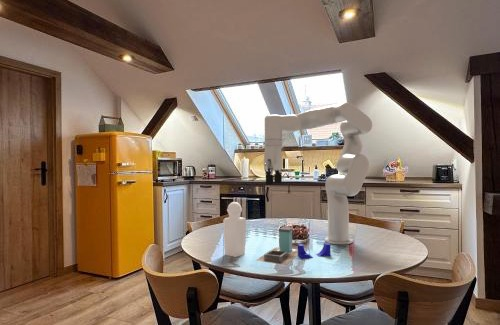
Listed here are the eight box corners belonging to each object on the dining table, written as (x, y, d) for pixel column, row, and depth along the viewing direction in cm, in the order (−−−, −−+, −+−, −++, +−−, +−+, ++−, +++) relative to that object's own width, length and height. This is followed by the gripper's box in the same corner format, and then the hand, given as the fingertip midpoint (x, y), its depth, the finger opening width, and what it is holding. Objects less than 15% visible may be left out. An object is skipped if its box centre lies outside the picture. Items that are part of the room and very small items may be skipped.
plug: (282, 248, 132) (282, 227, 132) (292, 249, 130) (292, 227, 130) (279, 251, 128) (278, 228, 128) (289, 252, 126) (289, 229, 126)
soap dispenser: (234, 254, 130) (233, 200, 130) (246, 257, 126) (246, 201, 126) (223, 258, 125) (222, 202, 125) (235, 261, 121) (235, 203, 121)
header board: (275, 250, 135) (275, 242, 135) (303, 254, 130) (303, 245, 130) (255, 264, 117) (255, 254, 117) (286, 268, 112) (286, 258, 112)
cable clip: (301, 262, 119) (300, 246, 119) (297, 259, 123) (297, 243, 123) (332, 261, 120) (331, 245, 120) (327, 258, 124) (327, 242, 124)
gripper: (272, 145, 146) (273, 182, 146) (257, 143, 131) (257, 184, 130) (288, 144, 143) (288, 183, 143) (274, 142, 127) (274, 185, 127)
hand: (273, 183), depth 136 cm, fingers open, 9 cm apart
